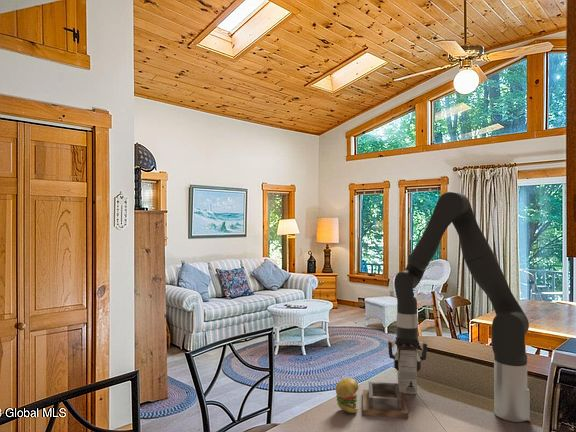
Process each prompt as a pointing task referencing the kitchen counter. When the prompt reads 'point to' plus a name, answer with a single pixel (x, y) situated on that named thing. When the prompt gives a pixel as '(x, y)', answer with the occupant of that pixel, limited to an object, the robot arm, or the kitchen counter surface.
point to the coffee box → (407, 369)
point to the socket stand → (384, 400)
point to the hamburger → (347, 394)
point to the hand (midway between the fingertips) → (407, 370)
